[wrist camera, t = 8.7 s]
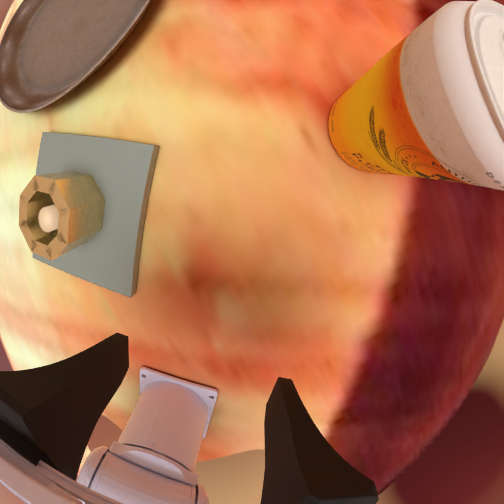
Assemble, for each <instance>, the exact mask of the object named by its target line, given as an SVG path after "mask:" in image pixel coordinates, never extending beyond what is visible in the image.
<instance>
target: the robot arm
mask: <svg viewBox="0 0 504 504" xmlns="http://www.w3.org/2000/svg"><path fill="white" fill-rule="evenodd" d="M128 368H129V354H128V336H125V335H122V334H120V333H116V334H114V335H112V336H110V337H108V338H107V339H105V340H103V341H101V342H99V343H98V344H96V345H94V346H92V347H90V348H88V349H86V350H85V351H83V352H80V353H78V354H76V355H74V356H72V357H70V358H67V359H65V360H62V361H59V362H56V363H53V364H50V365H46V366H42V367H38V368H34V369H28V370H20V371H2V372H1V371H0V483H2V484H3V485H4V486H5V487H6V488H8V489H9V490H10V491H11V492H12V493H14V494H15V495H16V496H17V497H19V498H20V499H21V500H23V501H24V502H25V503H27V504H209V498H208V494H207V492H206V491H205V489H204V487H203V486H202V485H199V484H197V479H198V474H196V473H194V471H195V466H196V462H197V458H198V454H199V450H200V445H201V441H202V439H204V438H205V435H206V432H207V429H208V426H209V422H210V419H211V416H212V412H213V409H214V406H215V402H216V399H217V396H218V391H217V390H216V389H213V388H210V387H206V386H202V385H199V384H195V383H192V382H189V381H185V380H182V379H179V378H176V377H173V376H169V375H166V374H163V373H160V372H158V371H155V370H152V369H149V368H146V367H142V368H141V369H140V398H139V400H138V402H137V404H136V406H135V408H134V410H133V412H132V414H131V416H130V418H129V420H128V422H127V424H126V426H125V428H124V430H123V432H122V434H121V436H120V438H119V440H118V442H116V441H114V442H113V444H112V446H111V448H110V450H109V448H107V447H105V446H101V447H99V448H95V449H94V450H93V451H92V452H91V453H90V454H89V456H88V457H87V459H86V461H85V463H84V465H83V467H82V469H81V471H80V474H79V476H78V479H77V482H76V477H77V473H78V470H79V466H80V463H81V460H82V457H83V454H84V452H85V449H86V446H87V444H88V441H89V439H90V437H91V434H92V432H93V430H94V428H95V425H96V423H97V421H98V419H99V417H100V416H101V414H102V412H103V411H104V409H105V408H106V406H107V405H108V403H109V402H110V400H111V398H112V397H113V395H114V394H115V392H116V391H117V389H118V388H119V386H120V385H121V383H122V381H123V379H124V377H125V375H126V372H127V370H128ZM264 427H265V473H264V483H263V490H262V498H261V504H376V503H377V501H378V500H379V499H378V494H377V489H376V486H375V483H374V482H373V481H372V480H370V479H369V478H367V477H366V476H364V475H363V474H361V473H360V472H359V471H357V470H356V469H355V468H354V467H352V466H351V465H350V464H349V463H348V462H346V461H345V460H344V459H343V458H342V457H341V456H340V455H339V454H338V453H337V452H336V451H335V450H334V449H333V448H332V447H331V445H330V444H329V443H328V442H327V441H326V439H325V438H324V437H323V435H322V434H321V433H320V431H319V430H318V428H317V427H316V425H315V424H314V422H313V421H312V419H311V417H310V416H309V414H308V412H307V410H306V408H305V407H304V405H303V403H302V401H301V399H300V397H299V395H298V392H297V390H296V388H295V386H294V384H293V381H292V380H291V379H287V378H281V377H278V379H277V382H276V384H275V386H274V389H273V391H272V393H271V395H270V398H269V400H268V402H267V404H266V412H265V422H264ZM73 496H74V497H73Z"/></svg>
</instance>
